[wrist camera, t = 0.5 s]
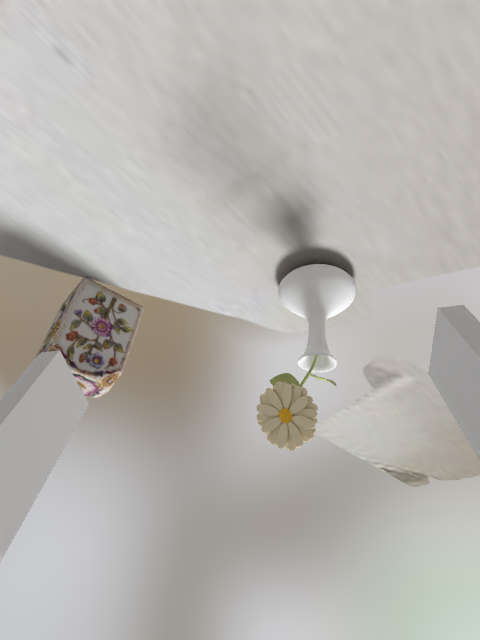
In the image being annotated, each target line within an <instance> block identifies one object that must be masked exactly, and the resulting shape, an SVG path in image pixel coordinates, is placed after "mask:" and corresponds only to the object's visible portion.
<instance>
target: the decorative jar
mask: <svg viewBox="0 0 480 640" xmlns="http://www.w3.org/2000/svg"><path fill="white" fill-rule="evenodd" d="M142 312H143V307H142V306H140V305H138V304H136V303H134V302H132V301H130V300H129V299H127V298H125V297H123V296H121V295H119V294H117V293H116V292H114V291H111V290H109V289H107V288H106V287H103V286H101V285H100V284H98V283H96V282H94V281H92V280H90V279H88V278H83V279H82V281H81V282H80V283H79V284H78V286H77V287H76V288H75V289H74V291H73V292H72V293H71V294H70V296H69V297H68V299H67V300H66V301H65V302H64V303H63V305H62V306H61V308H60V310H59V312H58V314H57V316H56V318H55V320H54V322H53V324H52V326H51V328H50V329H49V331H48V333H47V335H46V337H45V339H44V341H43V343H42V346H41V348H40V350H39V352H38V354H37V356H38V355H39V354H40V353H41V352H50V351H59V350H60V352H61V353H62V355H63V357H64V359H65V361H66V363H67V364H68V366H69V368H70V370H71V372H72V374H73V376H74V377H75V379H76V381H77V383H78V385H79V387H80V388H81V390H82V392H83V394H84V396H85V397H100V396H102V395H104V394H105V393H107V392H108V391H109V390H110V388H111V387H112V386H113V384H114V383H115V382H116V381H117V379H118V377H119V376H120V375H121V374H122V373H123V369H124V366H125V363H126V360H127V357H128V354H129V352H130V349H131V346H132V343H133V340H134V337H135V334H136V331H137V329H138V325H139V323H140V319H141V316H142ZM37 356H36V358H37ZM36 358H35V359H36Z"/></svg>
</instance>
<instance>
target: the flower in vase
mask: <svg viewBox="0 0 480 640" xmlns="http://www.w3.org/2000/svg"><path fill="white" fill-rule="evenodd" d="M356 290H357V288H356V283H355V281H354V279H353V278H352V277H351V276H350V275H349V274H348V273H346V272H345V271H344V270H342V269H340V268H338V267H335V266H332V265H326V264H311V265H306V266H302V267H299V268H297V269H295V270H293V271H291V272H290V273H289V274H288V275H286V276H285V277H284V278H283V280H282V281H281V283H280V285H279V289H278V292H279V296H280V299H281V301H282V303H283V304H284V305H285V307H287V308H288V309H289V310H290V311H292V312H293V313H295V314H297V315H299V316H301V317H304V318H306V319H307V320H308V324H309V337H308V343H307V348H306V350H305V352H304V354H303V355H302V356H301V357H300V359H299V360H298V365H299V366H300V367H301V368H302V369H304V370H307V371H308V373H307V375H306V376H305V378H304V379H303V381H302V382H301V384H300V385H299V382H298V381H297V380H296V379H295V378H294V377H293V376H292V375H291V374H289V373H284V374H280V375H278V376H276V377H274V378H272V379H271V380H270V382H271V384H272V385H273V390H272V389H270V388H267V390H266V392H265V394H261V396H260V403H261V404H259V405H258V406H257V411H258V412H259V414H258V415H257V420H258V423H259V425H261V426H262V427H261V430H262V432H263V433H265V434H268V435H267V439H268V441H270V442H271V444H273V445H276V444H277V446H278V447H279V448H280V449H283V448H284V447H285V446H286V448H287V449H290V451H294V450H295V449H296V448H299V447H301V446H302V445H303V440H304V441H306V442H308V441H309V440H310V439H313V437H314V433H315V431H316V430H315V427H314V426H315V424H316V423H317V418H316V417H317V412H316V411H317V410H318V408H317V405H316V404H314V403H312V401H313V400H312V397H310V396H307V390H306V389H305V388H302V386H303V384H304V383H305V381H306V379H307V378H308V376H309V375H311V376H313V377H315V378H317V379H320V380H324V381H329V382H331V383H333V384H334V385H335V386H336V384H335V382H333V381H332V380H328V379H324V378H321V377H318V376H315V375H312V374H310V373H311V372H325V371H329V370H331V369H334V368H335V367H336V366H337V361H336V359H335V358H334V357H333V356H332V355H331V354H330V352H329V350H328V347H327V343H326V337H325V323H326V320H327V319H328V318H329V317H332V316H334V315H336V314H338V313H340V312H342V311H343V310H344V309H346V308H347V307H348V306H349V305H350V304H351V303H352V301H353V299H354V297H355V294H356Z"/></svg>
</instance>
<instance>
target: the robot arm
mask: <svg viewBox="0 0 480 640" xmlns="http://www.w3.org/2000/svg"><path fill="white" fill-rule="evenodd" d="M429 375H430V377H431V379H432V380H433V382H434V384H435V385H436V387H437V389H438V390H439V392H440V394H441V395H442V397H443V399H444V400H445V402H446V404H447V405H448V407H449V409H450V411H451V412H452V414H453V416H454V417H455V419H456V421H457V422H458V424H459V426H460V427H461V429H462V431H463V432H464V434H465V436H466V437H467V439H468V441H469V442H470V444H471V446H472V447H473V449H474V451H475V452H476V454H477V456H478V457H479V459H480V322H479V321H478V320H477V319H476V318H475V316H473V314H472V313H471V312H470V311H469V310H468V309H467V308H466V307H465V306H464V305H460V306H451V307H442V308H438V310H437V317H436V324H435V332H434V338H433V345H432V353H431V360H430V367H429ZM88 405H89V403H88V401H87V400H86V398H85V396H84V394H83V392H82V390H81V388H80V387H79V385H78V383H77V381H76V379H75V377H74V376H73V374H72V372H71V370H70V368H69V366H68V364H67V363H66V361H65V359H64V357H63V355H62V353H61V352H60V350H59V351H50V352H41V353H40V354H39V355H38V356H37V358H36V359H35V360H34V361H33V362H32V364H31V365H30V366H29V367H28V368H27V369H26V370H25V372H24V373H23V374H22V375H21V376H20V377H19V379H18V380H17V381H16V382H15V383H14V385H13V386H12V387H11V388H10V389H9V390H8V391H7V392H6V394H5V395H4V396H3V397H2V398H1V400H0V562H1V560H2V558H3V556H4V555H5V553H6V551H7V549H8V547H9V546H10V544H11V542H12V540H13V539H14V537H15V535H16V533H17V531H18V530H19V528H20V526H21V524H22V522H23V521H24V519H25V517H26V515H27V514H28V512H29V510H30V508H31V506H32V504H33V503H34V501H35V499H36V498H37V496H38V494H39V492H40V490H41V489H42V487H43V485H44V483H45V481H46V480H47V477H48V476H49V474H50V473H51V471H52V469H53V467H54V465H55V464H56V462H57V460H58V458H59V457H60V455H61V453H62V451H63V449H64V448H65V446H66V444H67V442H68V441H69V439H70V437H71V435H72V433H73V432H74V430H75V428H76V426H77V424H78V423H79V421H80V419H81V417H82V415H83V414H84V412H85V410H86V408H87V407H88Z"/></svg>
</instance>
